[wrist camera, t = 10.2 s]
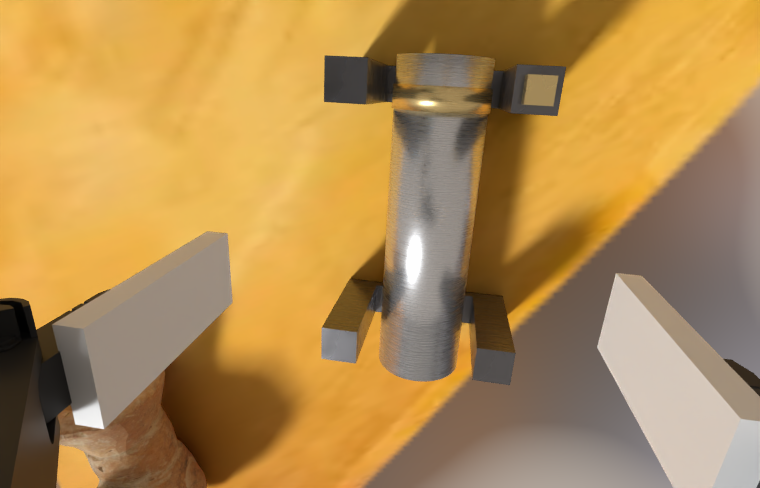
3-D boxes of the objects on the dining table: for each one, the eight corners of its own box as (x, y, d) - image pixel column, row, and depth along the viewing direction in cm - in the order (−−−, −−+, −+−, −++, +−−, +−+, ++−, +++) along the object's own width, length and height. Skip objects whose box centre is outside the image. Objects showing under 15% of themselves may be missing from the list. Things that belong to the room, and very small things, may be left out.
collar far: (349, 278, 31) (321, 327, 25) (502, 296, 30) (515, 352, 23) (349, 304, 32) (321, 358, 25) (498, 322, 31) (509, 385, 24)
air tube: (401, 58, 26) (387, 51, 21) (493, 62, 25) (501, 56, 20) (384, 331, 32) (371, 375, 27) (457, 341, 31) (458, 387, 26)
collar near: (357, 64, 27) (319, 54, 19) (537, 73, 25) (570, 65, 18) (355, 99, 27) (319, 102, 20) (532, 110, 26) (561, 116, 19)
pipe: (180, 338, 36) (81, 426, 26) (249, 495, 40) (185, 619, 31) (89, 354, 38) (-32, 440, 28) (164, 502, 42) (80, 619, 33)
